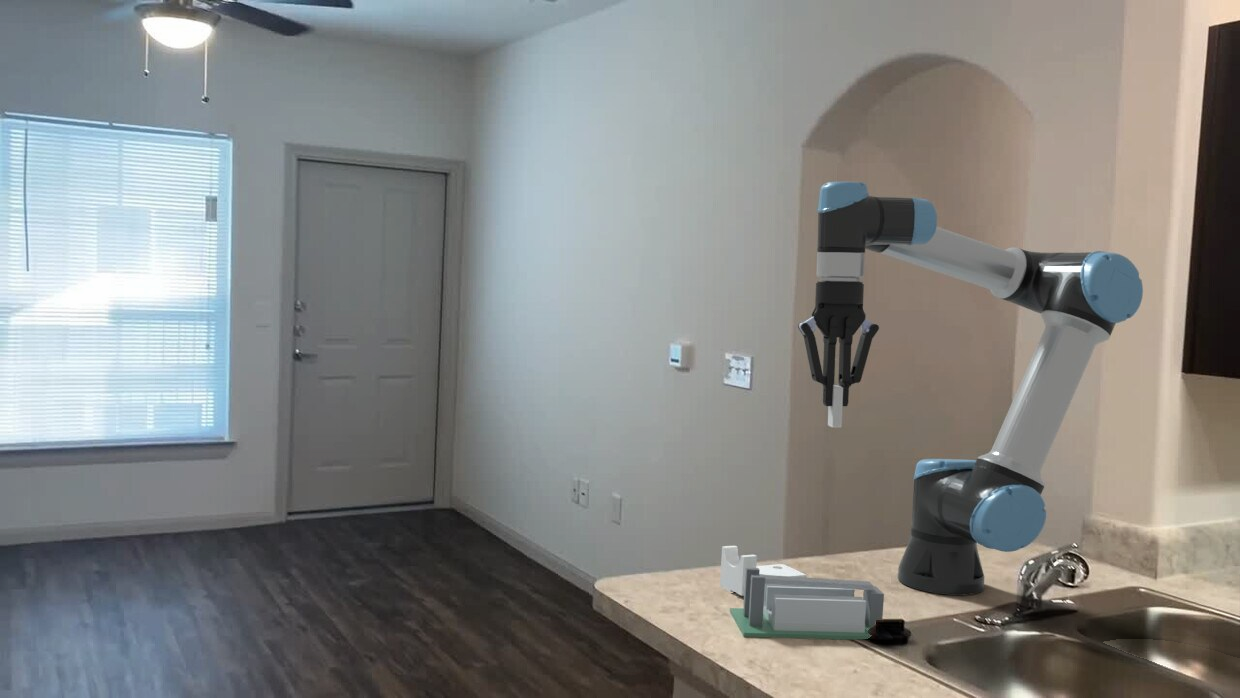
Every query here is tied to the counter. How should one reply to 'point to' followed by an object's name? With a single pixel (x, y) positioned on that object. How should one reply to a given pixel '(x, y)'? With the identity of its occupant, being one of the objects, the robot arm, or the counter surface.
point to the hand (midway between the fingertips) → (834, 426)
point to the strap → (817, 582)
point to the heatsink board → (805, 611)
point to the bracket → (736, 569)
